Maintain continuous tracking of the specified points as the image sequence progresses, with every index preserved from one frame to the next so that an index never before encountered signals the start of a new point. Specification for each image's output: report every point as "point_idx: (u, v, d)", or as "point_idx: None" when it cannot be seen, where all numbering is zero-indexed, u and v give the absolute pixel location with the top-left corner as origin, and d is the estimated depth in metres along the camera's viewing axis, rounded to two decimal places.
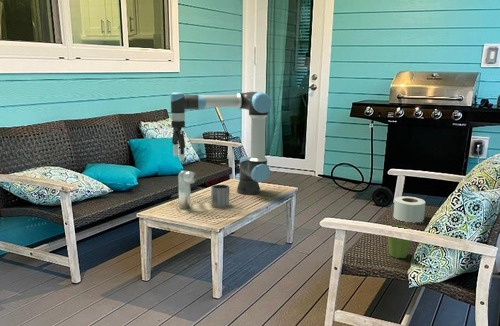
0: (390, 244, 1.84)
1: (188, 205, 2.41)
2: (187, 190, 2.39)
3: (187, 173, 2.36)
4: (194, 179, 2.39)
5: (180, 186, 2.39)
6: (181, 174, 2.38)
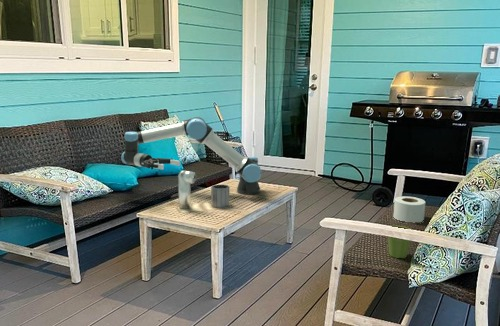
0: (390, 244, 1.84)
1: (188, 205, 2.41)
2: (187, 190, 2.39)
3: (187, 173, 2.36)
4: (194, 179, 2.39)
5: (180, 186, 2.39)
6: (181, 174, 2.38)
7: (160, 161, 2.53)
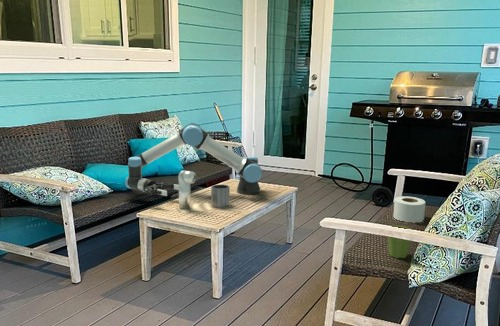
0: (390, 244, 1.84)
1: (188, 205, 2.41)
2: (187, 190, 2.39)
3: (187, 173, 2.36)
4: (194, 179, 2.39)
5: (180, 186, 2.39)
6: (181, 174, 2.38)
7: (164, 186, 2.54)
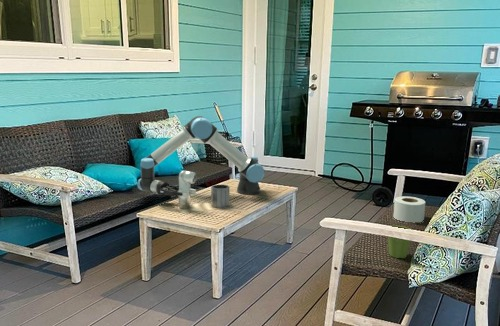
0: (390, 244, 1.84)
1: (188, 205, 2.41)
2: (187, 190, 2.39)
3: (187, 173, 2.36)
4: (194, 179, 2.39)
5: (180, 186, 2.39)
6: (181, 174, 2.37)
7: (176, 189, 2.48)
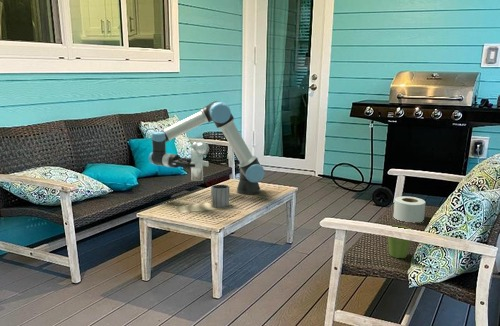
0: (390, 244, 1.84)
1: (201, 177, 2.40)
2: (200, 162, 2.38)
3: (200, 144, 2.35)
4: (207, 150, 2.37)
5: (193, 158, 2.37)
6: (194, 145, 2.36)
7: (188, 161, 2.46)
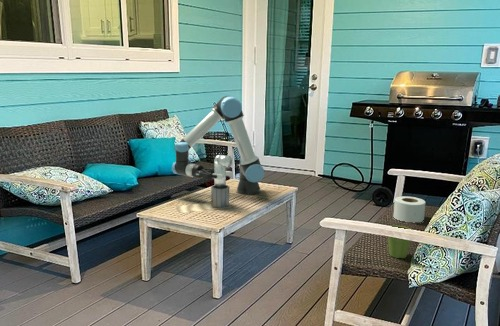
0: (390, 244, 1.84)
1: None
2: (223, 174, 2.43)
3: (223, 157, 2.40)
4: (230, 163, 2.42)
5: (216, 170, 2.42)
6: (217, 158, 2.41)
7: (212, 172, 2.51)
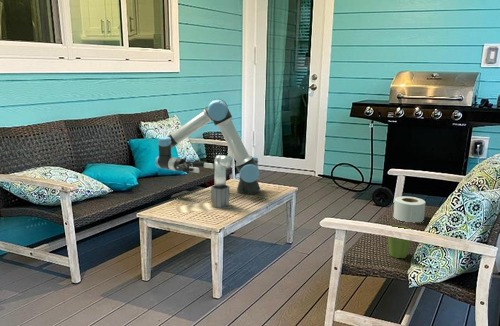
0: (390, 244, 1.84)
1: None
2: (223, 174, 2.43)
3: (224, 157, 2.40)
4: (230, 163, 2.42)
5: (216, 170, 2.42)
6: (217, 158, 2.41)
7: (194, 164, 2.59)
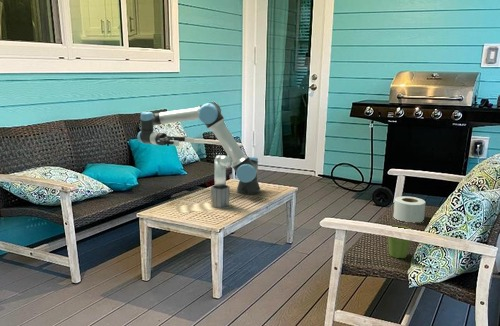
0: (390, 244, 1.84)
1: None
2: (223, 174, 2.43)
3: (224, 157, 2.40)
4: (230, 163, 2.42)
5: (216, 170, 2.42)
6: (217, 158, 2.41)
7: (175, 139, 2.63)
